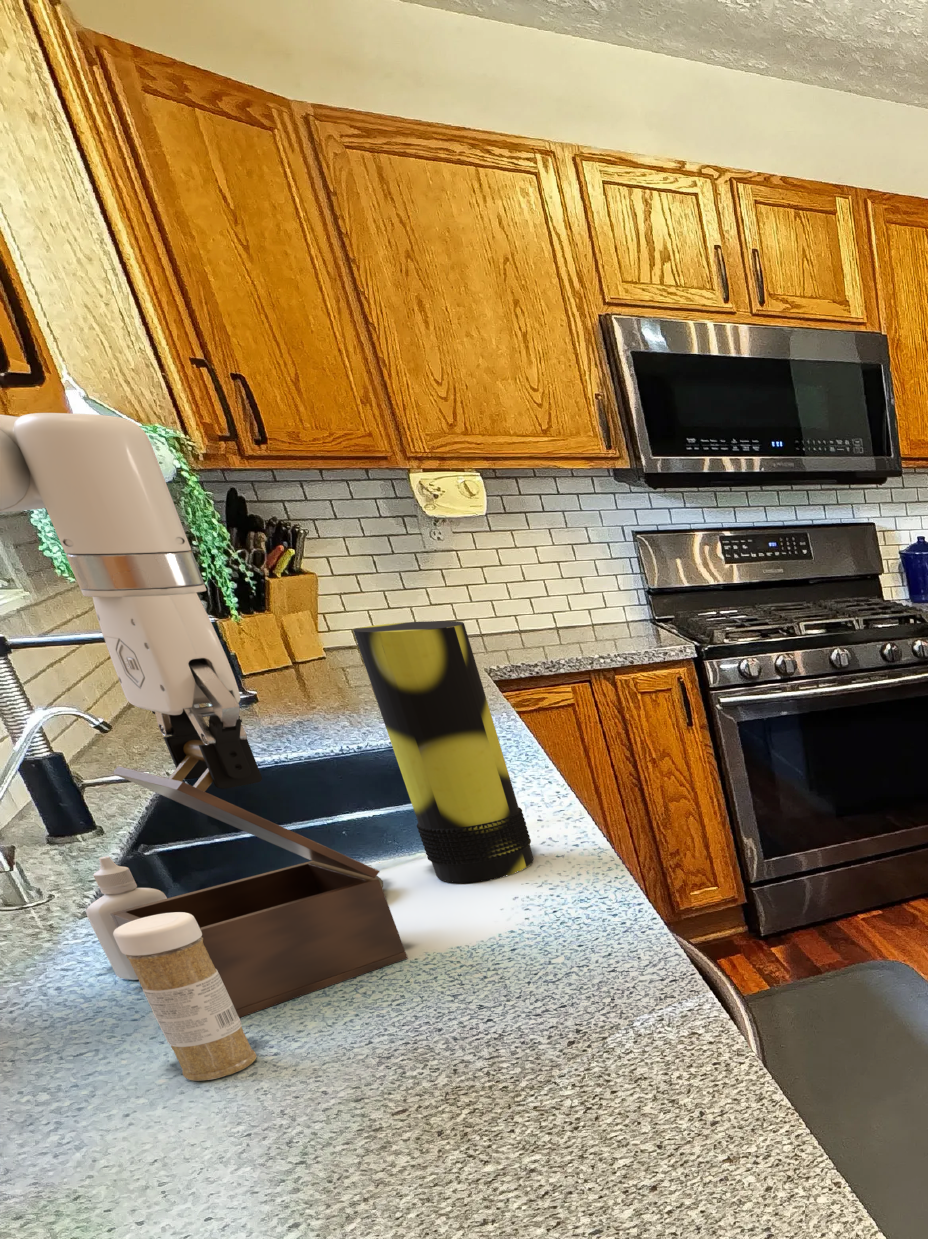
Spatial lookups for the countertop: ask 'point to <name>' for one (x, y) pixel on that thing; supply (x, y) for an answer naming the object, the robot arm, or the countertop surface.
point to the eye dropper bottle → (116, 898)
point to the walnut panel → (235, 811)
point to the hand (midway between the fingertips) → (221, 778)
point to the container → (446, 748)
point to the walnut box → (288, 931)
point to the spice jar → (186, 994)
